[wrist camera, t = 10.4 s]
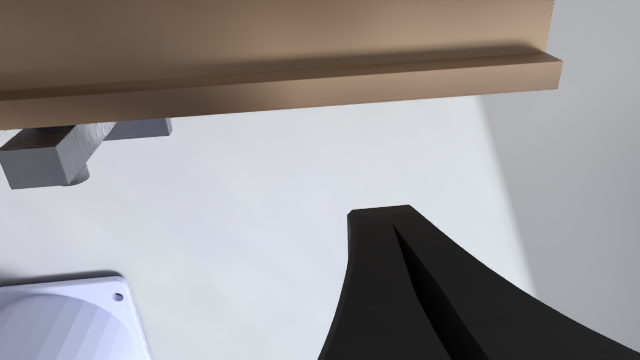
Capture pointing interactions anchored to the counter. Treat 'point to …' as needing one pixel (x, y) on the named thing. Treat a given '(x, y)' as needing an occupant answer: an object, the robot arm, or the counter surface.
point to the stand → (66, 150)
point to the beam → (259, 55)
